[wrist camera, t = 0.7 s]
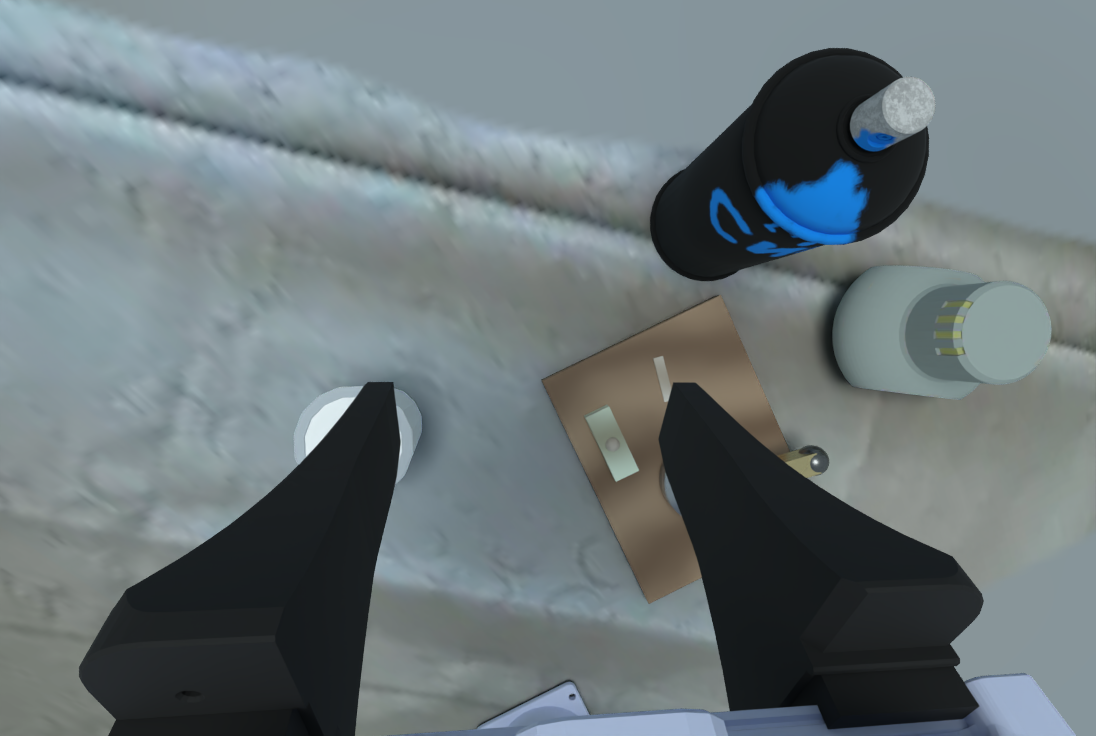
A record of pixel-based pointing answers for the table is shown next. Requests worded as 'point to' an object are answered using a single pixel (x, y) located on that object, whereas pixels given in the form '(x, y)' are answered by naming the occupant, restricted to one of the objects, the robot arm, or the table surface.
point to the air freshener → (937, 331)
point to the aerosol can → (799, 167)
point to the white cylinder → (332, 407)
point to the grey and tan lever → (802, 460)
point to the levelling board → (655, 428)
